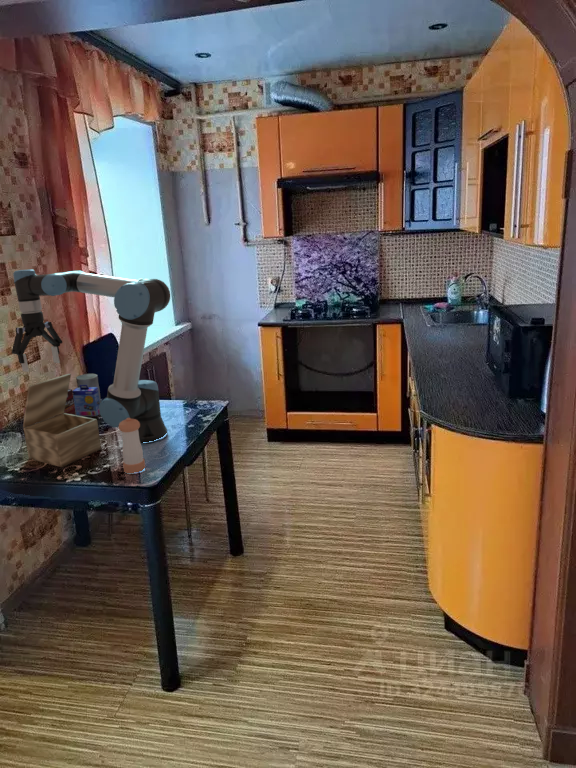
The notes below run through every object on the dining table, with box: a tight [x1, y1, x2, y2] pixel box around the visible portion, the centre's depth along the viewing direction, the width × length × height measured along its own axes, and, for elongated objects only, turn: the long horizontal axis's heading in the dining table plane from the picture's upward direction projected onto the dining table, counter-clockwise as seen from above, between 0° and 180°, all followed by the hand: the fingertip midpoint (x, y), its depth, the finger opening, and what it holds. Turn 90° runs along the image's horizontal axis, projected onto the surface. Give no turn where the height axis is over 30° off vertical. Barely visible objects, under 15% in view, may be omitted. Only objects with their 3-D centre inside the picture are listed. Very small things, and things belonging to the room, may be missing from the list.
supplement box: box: [56, 388, 76, 416], centre depth 233 cm, size 9×5×16 cm, turn 168°
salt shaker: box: [118, 418, 146, 473], centre depth 188 cm, size 7×7×19 cm
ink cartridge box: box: [72, 385, 100, 417], centre depth 249 cm, size 10×6×14 cm, turn 88°
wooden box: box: [22, 413, 102, 468], centre depth 206 cm, size 18×18×12 cm
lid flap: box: [22, 373, 72, 428], centre depth 204 cm, size 18×18×1 cm
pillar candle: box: [75, 373, 102, 403], centre depth 264 cm, size 10×10×15 cm
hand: (41, 367), depth 213 cm, fingers open, 13 cm apart
